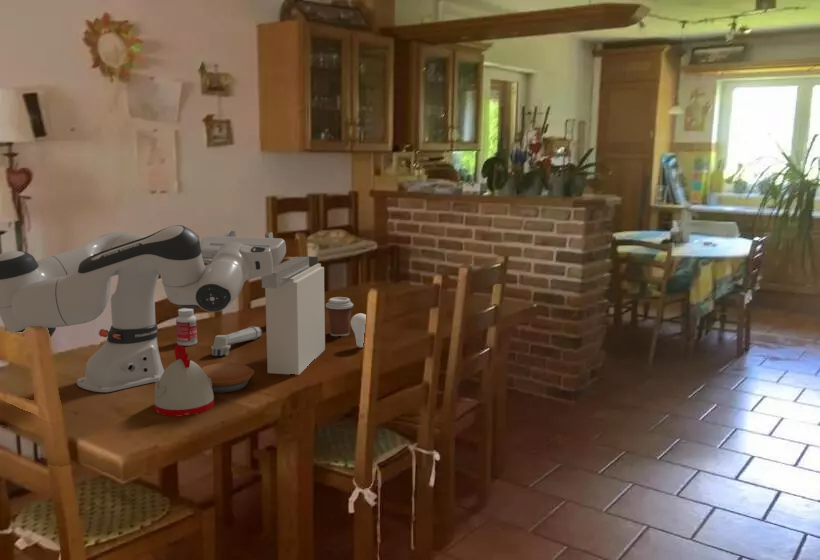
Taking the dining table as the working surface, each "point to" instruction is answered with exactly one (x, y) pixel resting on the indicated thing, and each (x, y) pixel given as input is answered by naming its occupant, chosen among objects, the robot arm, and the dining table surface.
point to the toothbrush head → (234, 340)
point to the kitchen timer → (183, 387)
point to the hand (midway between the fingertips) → (251, 234)
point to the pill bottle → (186, 327)
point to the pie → (228, 376)
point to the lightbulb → (359, 328)
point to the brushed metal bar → (285, 272)
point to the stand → (296, 321)
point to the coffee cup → (339, 315)
